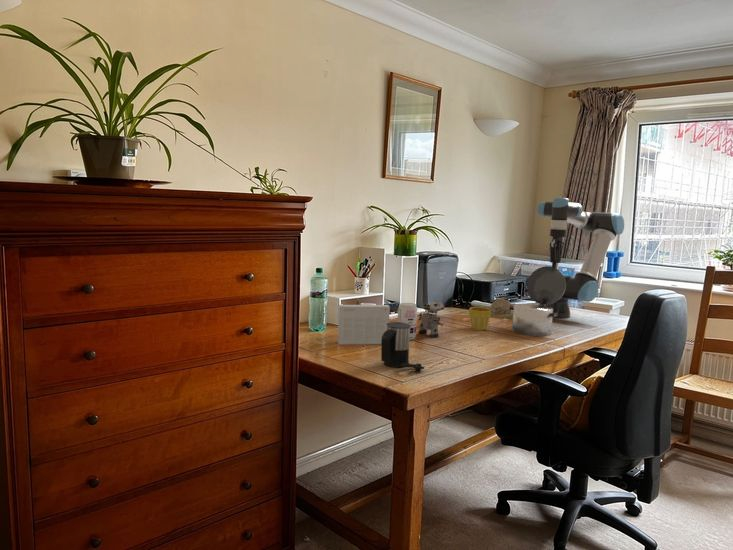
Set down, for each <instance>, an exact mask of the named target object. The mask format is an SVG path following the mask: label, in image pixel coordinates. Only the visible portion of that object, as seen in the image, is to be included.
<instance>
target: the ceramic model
mask: <svg viewBox="0 0 733 550" xmlns="http://www.w3.org/2000/svg"><path fill="white" fill-rule="evenodd" d="M510 306H513V305H512V302H510V301H509V300H507V299H505V298H504V297H503V298H502V297H501V298H496V299H495V300H494V301H493V302H492V303H491V305H490V309H491V318H492V317H493V318H500V319H508V320H510V319H512V320H513V312H512V310H510Z"/></svg>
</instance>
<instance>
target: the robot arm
mask: <svg viewBox="0 0 733 550" xmlns="http://www.w3.org/2000/svg"><path fill="white" fill-rule="evenodd" d="M536 208H537V209H536V211H537V214H538V215H539V216H541V217H548V218H551V220H550V230H549V231H550V232H549V236H550V237H552V239H551V240H552V241H551V242H550V243H549V248H550V249H549V253H550V255H549V258H550V259H549V260H550V261H549V262H550V263H551V267H554V268H556V269H558V270H559V264H561V260H562V254H563V250H564V246H565V242H563V238H565V237H566V236H567V227H568V224H571V225H572V226H573V227H575V228H577V229H580V230H583V231H586V232H589V233H592V234H593V235H594V238H593V240H592V243H591V244H590V247H589V249H588V251H587V253H586V256H585V259H584V261H583V263H582V266H581V268H580V271H579V272H576V273H575V275H574V277H572V276H571V274H563V275H564V277H565V280H566V289H565V292H564V294H563V296H562V297H561V298H560V299H559V300H558V301H557V302H555V303H553V304H548V305H546V306H549V307H552V308H553V312H556V313H557V316H556V317H554V318H556V319H568V318H571V309H570V306H569V300H573V301H578V302H582V303H584V302H585V303H589V302H592V301H594V300H595V299H596V297H597V296H598V293H599V292H600V291H599V289H600V286H599V283H598V279H597V276H598V274H599V270H600V268H601V266H602V263H603V261H604V259H605V256H606V254H607V251H608V249H609V246H610V244H611V242H612V241H614V240H616V238H617V235H622V234H623V232H624V230H625V220H624V217H623V215H622V214H621V213H618V212H603V211H601V212H600V211H583V206H582V205H581V203H579V202H570V199H569V198H567V197H554V198H553V201H541V202H539V203H538V204H537V207H536Z"/></svg>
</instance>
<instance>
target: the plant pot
mask: <svg viewBox="0 0 733 550" xmlns="http://www.w3.org/2000/svg"><path fill="white" fill-rule="evenodd" d="M491 312H492V309H491V308H488V307H482V306H472V307H469V310H468V314H469V317H470V323H471V329H472V330H476V331H485V330H486V329H487V325H488V322H489V320H490V318H492V316H491Z"/></svg>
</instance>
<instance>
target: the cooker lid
mask: <svg viewBox="0 0 733 550" xmlns="http://www.w3.org/2000/svg"><path fill="white" fill-rule="evenodd" d="M564 275H565V274H563V273H562V271H560V270H559V268H558V269H556V268H554V267H552V266H550V265H549V266H547V265H545V266H541V267H538V268H536V269H535V270H534V271H533V272H532V273H531V274H530V276H528V280H527V283H526V291H527V293H528V296H529V298H530V299H531V300H532V301H533V302H535V303H538V305H539V304H543V305H548V304H553V303H555V302H557V301H558V300H559V299H560V298H561V297H562V296H563V294H564V292H565V289H566V280H565V277H564Z"/></svg>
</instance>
